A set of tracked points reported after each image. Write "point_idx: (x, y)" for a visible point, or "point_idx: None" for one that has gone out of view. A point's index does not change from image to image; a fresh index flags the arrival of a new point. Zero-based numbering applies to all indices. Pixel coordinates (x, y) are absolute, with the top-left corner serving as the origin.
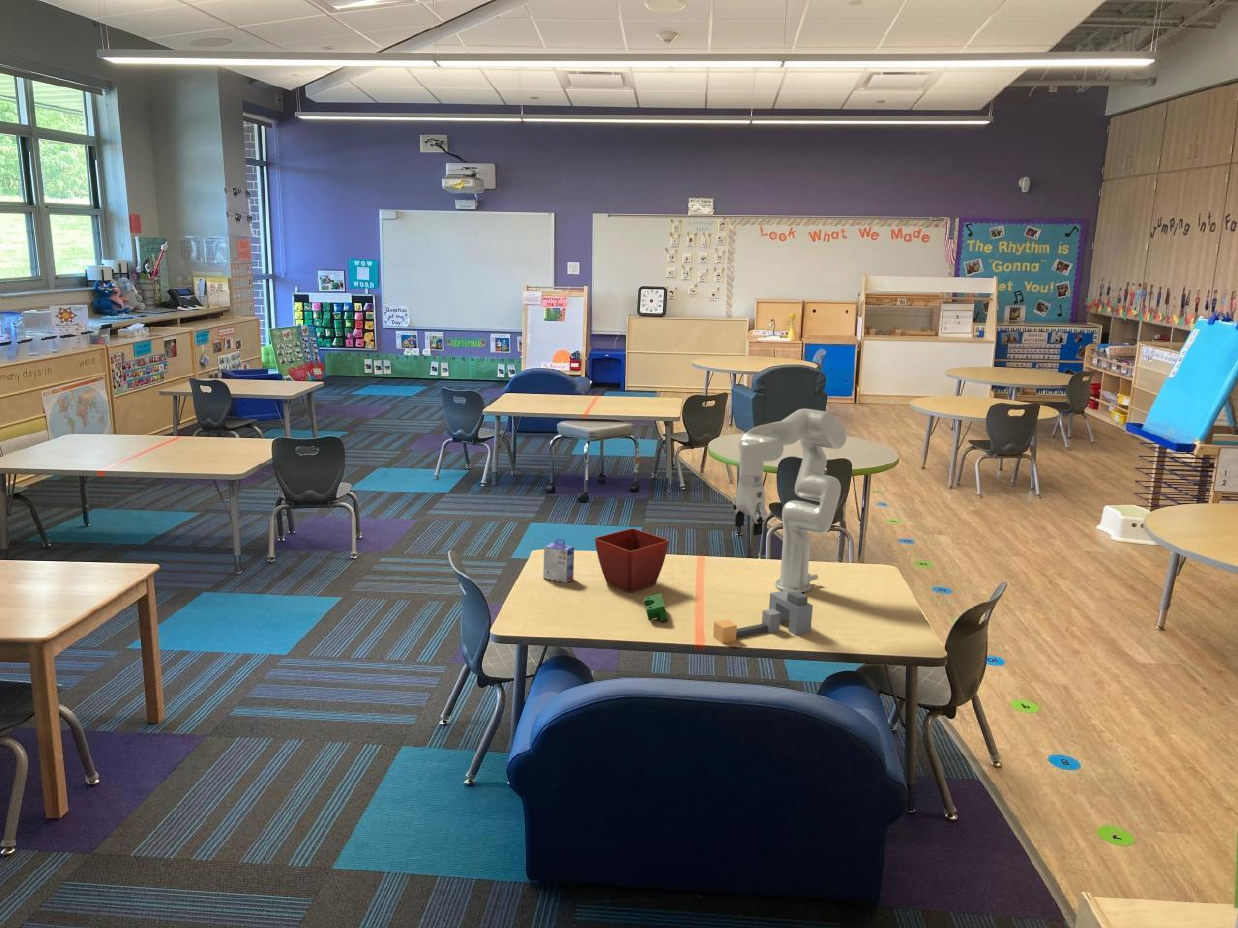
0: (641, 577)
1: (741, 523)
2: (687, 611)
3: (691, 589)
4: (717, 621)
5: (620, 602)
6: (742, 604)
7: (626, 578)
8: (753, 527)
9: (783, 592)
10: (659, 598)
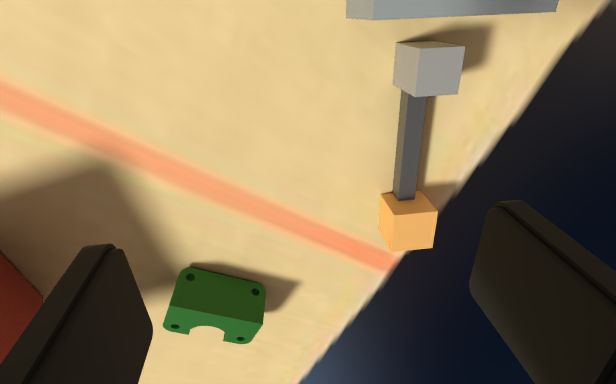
0: (6, 305)
1: (122, 301)
2: (209, 218)
3: (18, 131)
4: (391, 243)
5: None
6: (197, 28)
7: None
8: (534, 370)
9: None
10: (202, 316)
